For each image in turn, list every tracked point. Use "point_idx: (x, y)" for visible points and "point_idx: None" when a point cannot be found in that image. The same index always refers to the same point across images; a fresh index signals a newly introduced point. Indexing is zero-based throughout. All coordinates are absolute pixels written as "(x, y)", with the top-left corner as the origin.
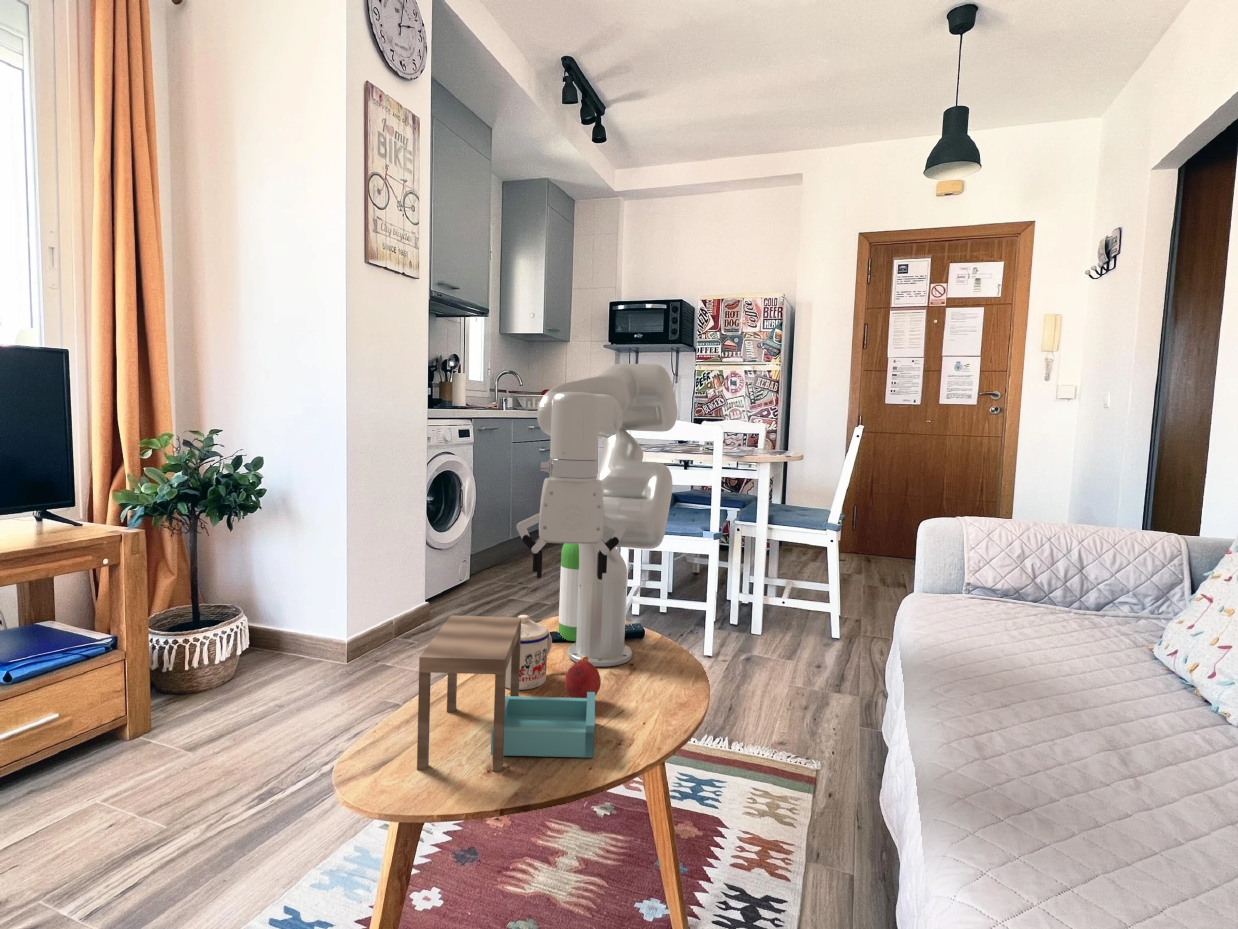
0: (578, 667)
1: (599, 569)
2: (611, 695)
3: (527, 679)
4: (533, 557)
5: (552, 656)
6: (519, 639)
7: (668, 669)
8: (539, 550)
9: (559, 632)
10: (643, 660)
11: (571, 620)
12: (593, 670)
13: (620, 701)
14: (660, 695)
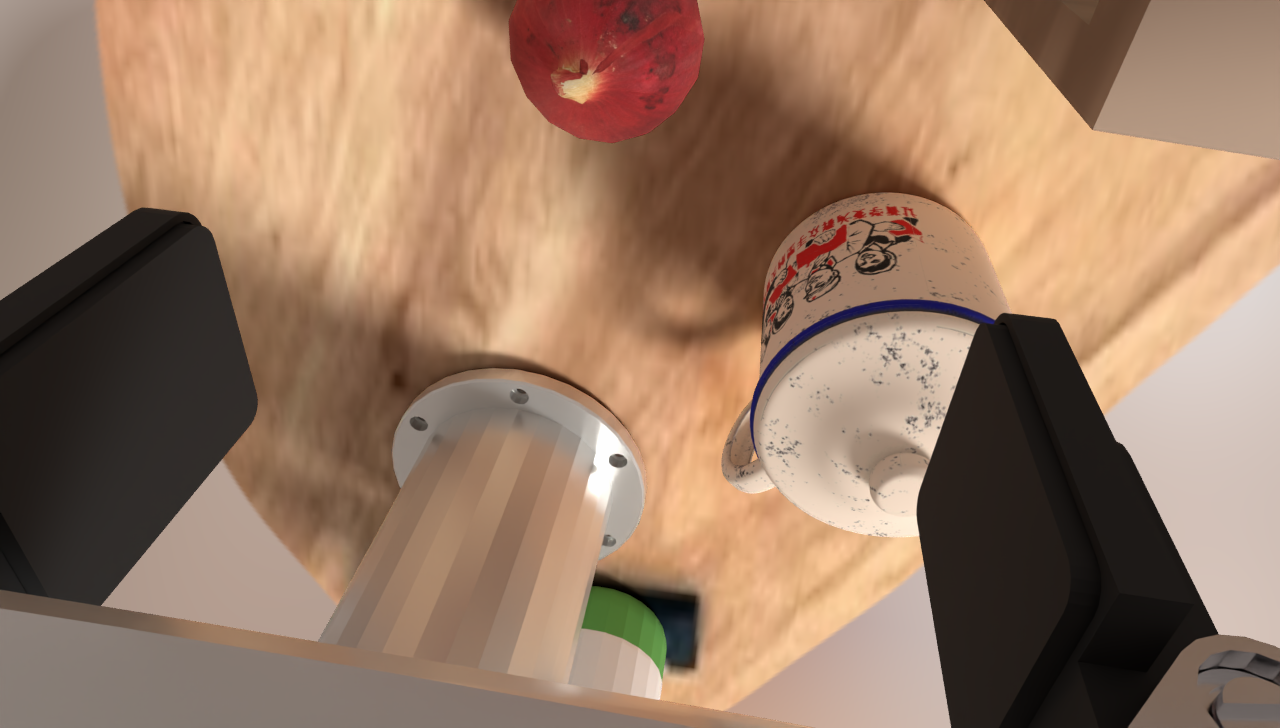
0: (620, 29)
1: (95, 268)
2: (485, 97)
3: (870, 210)
4: (1196, 604)
5: (709, 488)
6: (1074, 10)
7: (252, 322)
8: (1166, 679)
9: (663, 638)
10: (353, 410)
11: (611, 658)
12: (535, 17)
13: (445, 26)
14: (269, 75)
